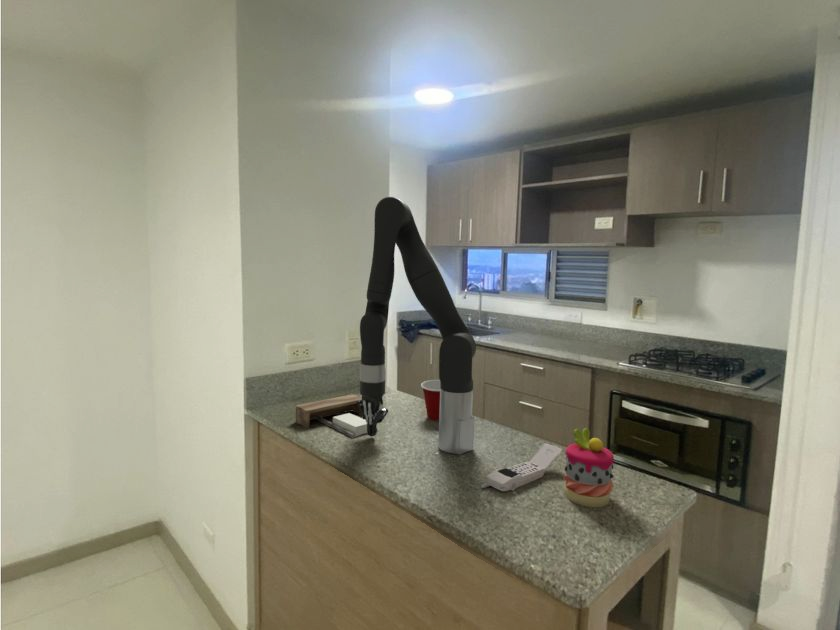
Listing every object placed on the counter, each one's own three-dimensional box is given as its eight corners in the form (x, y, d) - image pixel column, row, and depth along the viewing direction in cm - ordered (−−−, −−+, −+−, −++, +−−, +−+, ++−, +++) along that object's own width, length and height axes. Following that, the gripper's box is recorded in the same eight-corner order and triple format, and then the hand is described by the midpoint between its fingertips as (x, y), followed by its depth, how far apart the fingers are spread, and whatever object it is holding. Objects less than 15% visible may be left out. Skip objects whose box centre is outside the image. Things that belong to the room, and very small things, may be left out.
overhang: (393, 426, 150) (393, 410, 150) (334, 443, 136) (334, 424, 135) (352, 409, 167) (352, 394, 167) (295, 421, 152) (295, 405, 152)
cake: (619, 497, 108) (623, 434, 106) (597, 513, 101) (602, 445, 99) (576, 481, 116) (580, 422, 114) (554, 495, 108) (557, 432, 107)
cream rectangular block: (372, 432, 146) (372, 422, 146) (355, 437, 142) (355, 426, 141) (349, 422, 155) (349, 413, 154) (332, 426, 150) (332, 417, 150)
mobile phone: (564, 448, 122) (498, 472, 106) (563, 471, 122) (497, 498, 106) (544, 441, 126) (479, 463, 111) (543, 463, 127) (478, 488, 111)
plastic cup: (415, 420, 157) (416, 385, 156) (425, 411, 167) (426, 378, 166) (446, 425, 153) (448, 389, 152) (455, 415, 164) (456, 381, 162)
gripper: (396, 381, 136) (395, 438, 138) (369, 372, 146) (368, 426, 148) (376, 385, 131) (374, 445, 133) (349, 375, 141) (348, 431, 143)
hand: (371, 435), depth 140 cm, fingers closed
